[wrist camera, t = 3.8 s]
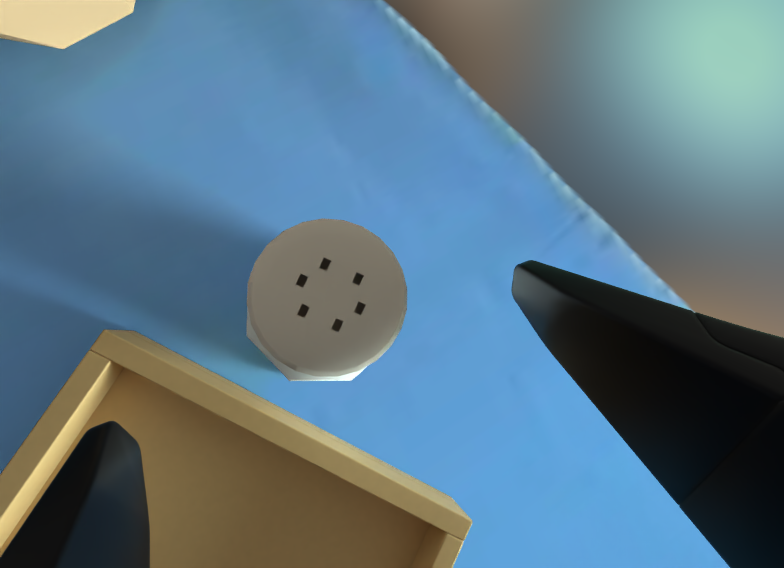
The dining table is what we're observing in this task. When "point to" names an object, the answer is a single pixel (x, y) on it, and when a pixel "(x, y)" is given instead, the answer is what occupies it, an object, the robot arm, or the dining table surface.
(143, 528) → the robot arm
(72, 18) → the squash
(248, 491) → the tray
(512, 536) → the dining table surface
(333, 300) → the salt shaker
